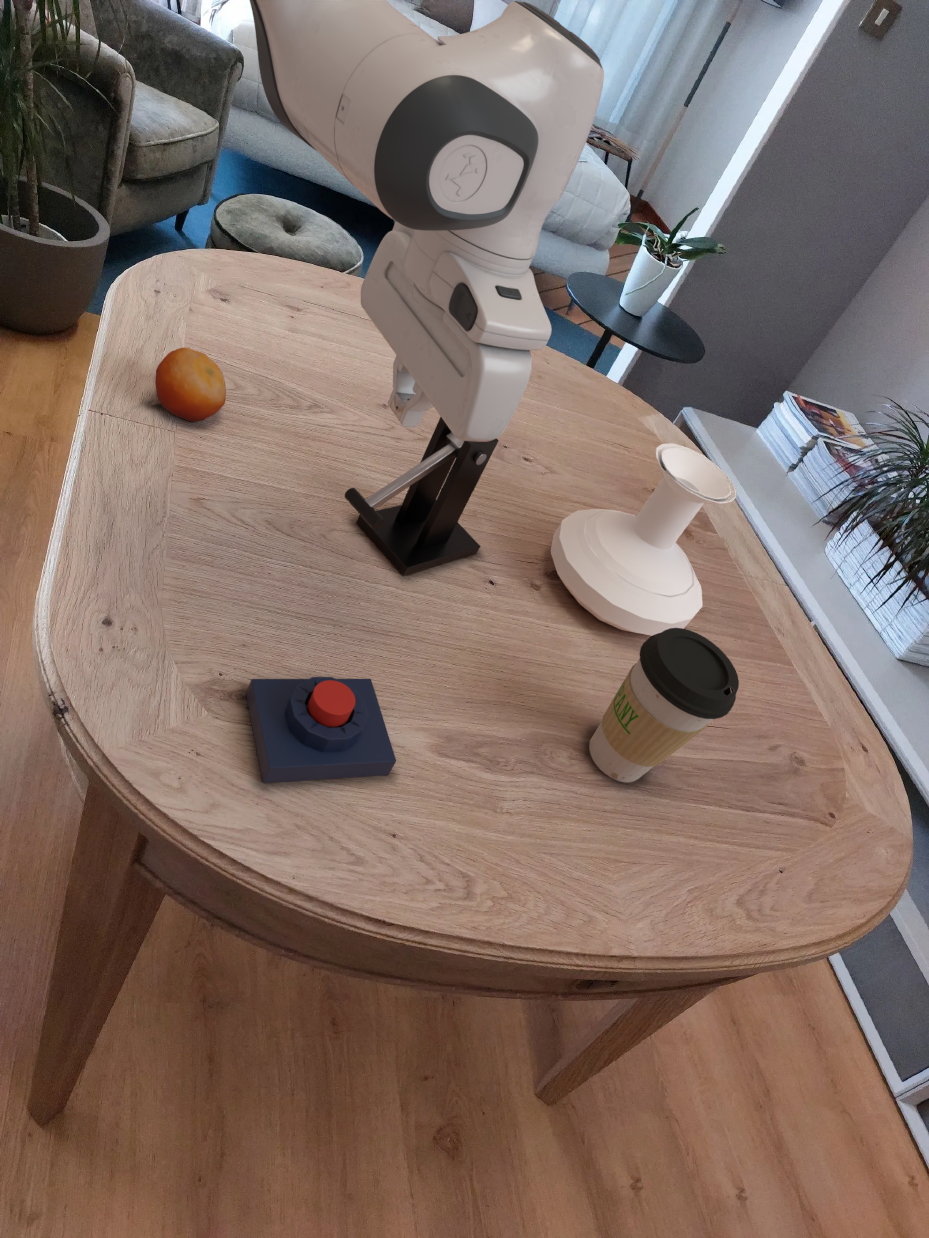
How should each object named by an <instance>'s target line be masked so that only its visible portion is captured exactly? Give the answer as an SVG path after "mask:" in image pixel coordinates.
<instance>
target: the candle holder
mask: <svg viewBox="0 0 929 1238" xmlns="http://www.w3.org/2000/svg"><path fill="white" fill-rule="evenodd" d="M655 457H656V460H657V462H658V465H659V467H660V470H661V472H662V475H663V477H662V478H661V479H660V481H659V482H658V484H657V485H656V487H655V488H654V490H653V491H652V492H651V494H650V495H649V497H648V498H647V500H646V501H645V503H644V504H643V506H642V507H641V509H640V510H639V511H638V513H637V515H636V514H632V513H629V512H625V511H620V510H616V509H606V508H605V509H604V508H590V509H589V508H588V509H582V510H581V509H580V510H575V511H573V512H572V513H571V514H569V515H568V516H567V517H565V518H563V519H561V521H560V523H559V524H558V526H557V527H556V529H555V531H554V533H553V535H552V541H551V547H550V555H551V559H552V561H553V564H554V567H555V570H556V574H557V576H558V577H559V579H560V580H561V582H562V583H563V585H564V587H565V588H566V589H567V591H568V592H569V593H570V594H571V595H572V597H573V598H574V599H575V600H576V601H577V603H578V604H579V605H580V606H581V607H582V608H584V609H585V610H586V611H588V612H589V613H590V614H591V615H593V616H594V617H595V618H596V619H597V620H599V621H601V622H603V623H605V624H607V625H610V626H612V627H614V628H616V629H618V630H621V631H625V632H630V633H636V634H642V635H647V636H650V637H651V636H653V635H655V634H658V633H661V632H663V631H664V630H667V629H669V628H683V629H686V627H687V626H688V624H689V623H690V622H691V621H692V620H693V619H694V617H695V616H696V615H697V614H698V613H699V611H700V610H701V609H702V608H703V605H704V604H703V591H702V586H701V583H700V581H699V580H698V577H697V575H696V573H695V571H694V568H693V565H692V564H691V562H690V560H689V558H688V556H687V554H686V553H685V551H684V550H683V549H682V548H681V547H680V545H679V544H678V543H677V541H678V539H679V538H680V537H681V535H682V534H683V533H684V531H685V530H686V529H687V528H688V526H689V524H690V523H691V522H692V521H693V520H694V518H695V516H696V515H697V514H698V512H700V510H701V508H703V506H704V504H717V505H720V504H721V505H722V504H730V503H732V502H734V500H736V499H737V498H738V497H737V490H736V489H737V488H736V487H735V485H734V483H733V481H732V480H731V478H730V477H729V476H728V474H727V473H725V472H724V470H723V469H722V468H720V467H719V466H718V465H717V464H716V463H715V462H714V461H712V460H710V459H709V458H708V457H706V456H705V455H704V454H701V453H700V452H698V451H696V450H694V449H692V448H691V447H687V446H683V445H681V444H677V443H675V442H672V443H671V442H670V443H669V442H668V443H661V444H660V445H658V446H656V447H655Z"/></svg>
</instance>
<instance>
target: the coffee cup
mask: <svg viewBox="0 0 929 1238" xmlns="http://www.w3.org/2000/svg"><path fill="white" fill-rule="evenodd" d="M739 686H740V681H739V675H738V673H737V670H736V668H735V666H734V663H732V661H731V659H730V658H729V657H728V656H727V654H726V653H724V652H723V651H722V649H721V648H720V647H718V646H717V645H716V644H715V643H713V642H712V641H711V640H710V639H709V638H707V637H705V636H703V635H701V634H700V633H698V632H695V631H693V630H690V629H686V628H684V629H683V628H669V629H667V630H664V631H663V632H661V633H658V634H655V635H653V636H651V635H650V637H648V638H647V639H646V640H645V641H644V642H643V643H642V645H641V647H640V649H639V658H638V660H637V662H636V663H634V664H633V665H632V666H631V668H630V670H629V672H628V673H627V675H626V676H625V678H624V680H623V682H622V683H621V685H620V686H619V689H618V690H617V692H616V693H615V695H614V697H613V698H612V699H611V702H610V704H609V705H608V707H607V708H606V710H605V712H604V714H603V716H602V718H601V721H600V722H599V725H598V727H597V728H596V730H595V732H594V733H593V734H592V736H591V738H590V740H589V742H588V743H589V744H588V749H589V754H590V757H591V759H592V761H593V763H594V764H595V765H596V767H597V768H598V770H600V771H601V772H602V773H603V774H604V775H606V776H607V777H609V778H611V779H613V780H615V781H616V782H617V781H618V782H621V783H632V782H635V781H637V780H639V779H640V778H641V777H642V776H644V775H646V773H648V772H649V771H650V770H651V769H653V768H654V767H655V766H658V765H660V764H661V763H663V762H664V761H665V760H666V759H668V758H669V757H671V756H672V755H673V754H674V753H676V752H677V751H678V750H679V749H681V748H682V747H683V746H684V745H686V744H687V743H688V742H690V741H691V740H692V739H693V738H695V737H696V736H697V735H698V734H699V733H702V731H704V730H705V729H706V728H707V726H709V723H711V722H712V721H714V720H718V719H722V718H723V717H725V716H727V715H728V714H729V713H730V711H731V710H732V708H733V707H734V705H735V702H736V700H737V699H736V698H737V693H738V690H739Z"/></svg>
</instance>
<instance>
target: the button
mask: <svg viewBox="0 0 929 1238" xmlns="http://www.w3.org/2000/svg"><path fill="white" fill-rule="evenodd" d="M354 706H355V696H354V694H353V692H352V691H351V690H350V688H349V687H347V686H346V685H344V684H343V683H341V682H338V681H333V680H327V681H323V682H321V683H319V684H318V685H317V686H316V687H315V688H314V691H313V693H312V695H311V697H310V700H309V702H308V711H309V713H310V715H311V717H312V718H313V719H314V720H315V721H316V722H318V723H319V724H321V725H324V726H327V727H338V726H341V725H343V724H344V723H345V722H346V721H347V720H348V718H349V716H350V714H351V712H352V710H353V708H354Z"/></svg>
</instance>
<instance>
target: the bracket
mask: <svg viewBox="0 0 929 1238" xmlns="http://www.w3.org/2000/svg"><path fill="white" fill-rule="evenodd" d="M451 432H452V431H451V430H450V429H449V427H448V426H447V424H446V423H445V422H444V420H443V419H442V417H441V416H440V417H439V419H438V421H437V424H436V426H435V428H434V431H433V432H432V435H431V437H430V440H429V442H428V444H427V446H426V449H425V450H424V453H423V456H422V458H421V460H420V462H419V463H421V462H422V461H424V460H425V459H427V458H428V457H430V456H431V455H433V454H434V453H436V452H437V451H439V450H440V449H442V448H443V447H445V446H446V445H447V435H448V434H450V433H451ZM498 443H499V439H498V438H496V439H494V440H492V441H488V442H474V441H464V443H463V445H462V447H461V449H460V451H459V453H458V455H457V458H456V457H455V456H454V457H452V458H451V459H449V460H448V461H446V462H445V463H443V464H442V465H441V466H439V467H438V468H436V469H435V470H433V471H432V472H430V473H429V474H427V475H426V476H424V477H423V478H421V479H420V480H418V481H417V482H415V483H414V484H412V485H411V486H409V487H408V488H407V492H406V494H405V496H404V499H403V501H402V503H401V504H400V505H396V506H391V507H386V508H383V509H377V510H375V511H376V512H377V513H378V514H379V515H380V516H381V517H382V518H383V520H384V524H383V525H382V526H381V527H380V528H379V529H377V530H374V529H372V527H371V526H370V525H369V524H368V523H367V522H366V521H365V520H364V519H363V517H362V516H361V515H360V514H358V516H357V519H356V522H355V523H356V525H357V526H358V527H359V528H360V530H362V532H363V533H364V534H365V535H366V537H368V539H370V540H371V542H372V543H373V544H374V545H375V546H376V547H377V549H378V550H379V551H380V552H381V553H382V554H383V555H384V557H385V558H386V559H387V560H388V561H389V562H390V563H391V564H392V565H393V566H394V568H395V569H396V570H397V571H398V572H399V573H400V574H401V575H402V577H405V576H408V575H412V574H415V573H418V572H419V573H420V572H421V571H426V570H428V569H432V568H434V567H438V566H441V565H444V564H445V565H446V564H448V563H451V562H454V561H458V560H460V559H464V558H466V557H470V556H473V555H477V554H478V552H479V550H480V549H481V545H480V544H479V543H478V542H477V540H475V539H474V538H473V536H472V535H471V534H470V533H469V532H467V530H466V528H464V527H463V526H462V525H461V524H460V523H459V521H460V519H461V516H462V514H463V513H464V510H465V508H466V506H467V504H468V502H469V501H470V498H471V496H472V495H473V492H474V490H475V488H476V486H477V484H478V483H479V481H480V478H481V477H482V475H483V472H484V471H485V469H486V467H487V465H488V463H489V461H490V459H491V457H492V455H493V454H494V451H495V449H496V447H497V445H498Z"/></svg>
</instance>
